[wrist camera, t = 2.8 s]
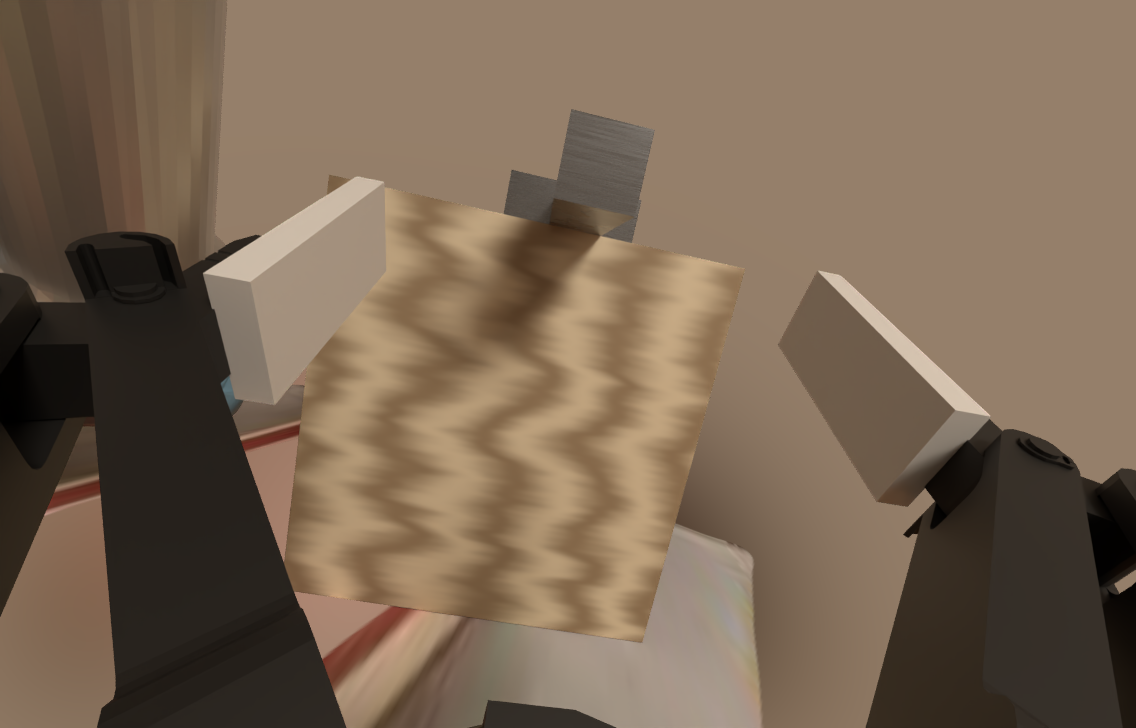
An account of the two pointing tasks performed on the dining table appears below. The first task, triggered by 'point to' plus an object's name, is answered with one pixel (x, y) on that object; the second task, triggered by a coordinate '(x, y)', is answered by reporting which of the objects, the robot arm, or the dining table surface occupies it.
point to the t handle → (588, 180)
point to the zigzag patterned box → (506, 422)
